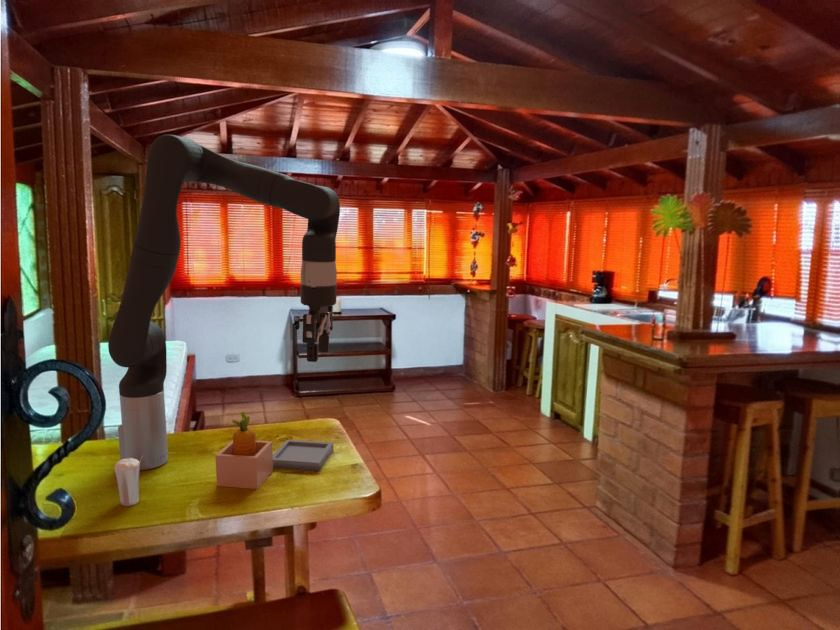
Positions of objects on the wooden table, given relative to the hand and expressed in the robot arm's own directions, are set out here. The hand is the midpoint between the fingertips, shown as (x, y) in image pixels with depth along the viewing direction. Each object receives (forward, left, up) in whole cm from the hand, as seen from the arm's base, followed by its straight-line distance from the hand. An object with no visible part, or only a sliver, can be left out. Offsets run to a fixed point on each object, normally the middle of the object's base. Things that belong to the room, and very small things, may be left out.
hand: (318, 356), depth 127 cm
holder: (-16, -4, -28) cm, 32 cm away
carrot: (-16, -4, -28) cm, 32 cm away
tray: (-7, +8, -28) cm, 30 cm away
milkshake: (-34, -18, -28) cm, 47 cm away
